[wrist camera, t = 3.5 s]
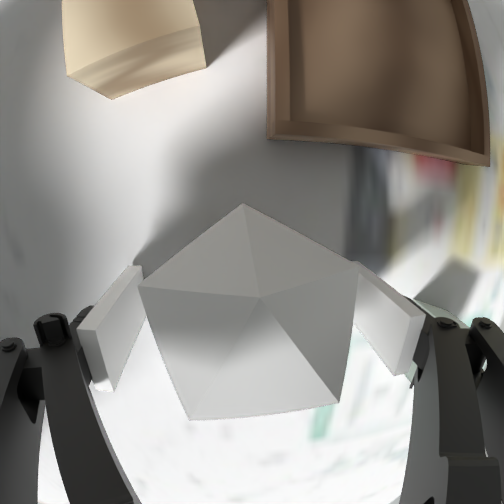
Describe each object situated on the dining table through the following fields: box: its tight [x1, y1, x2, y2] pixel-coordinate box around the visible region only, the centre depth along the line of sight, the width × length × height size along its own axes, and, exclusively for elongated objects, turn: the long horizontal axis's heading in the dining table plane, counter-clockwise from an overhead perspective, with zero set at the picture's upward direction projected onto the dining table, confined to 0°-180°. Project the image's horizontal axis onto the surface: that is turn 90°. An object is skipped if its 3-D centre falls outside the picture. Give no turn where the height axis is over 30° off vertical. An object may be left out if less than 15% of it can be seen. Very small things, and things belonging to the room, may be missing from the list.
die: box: [137, 203, 359, 421], centre depth 12 cm, size 8×9×10 cm
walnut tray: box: [267, 0, 490, 167], centre depth 11 cm, size 13×13×2 cm
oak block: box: [62, 0, 207, 100], centre depth 9 cm, size 5×5×5 cm
